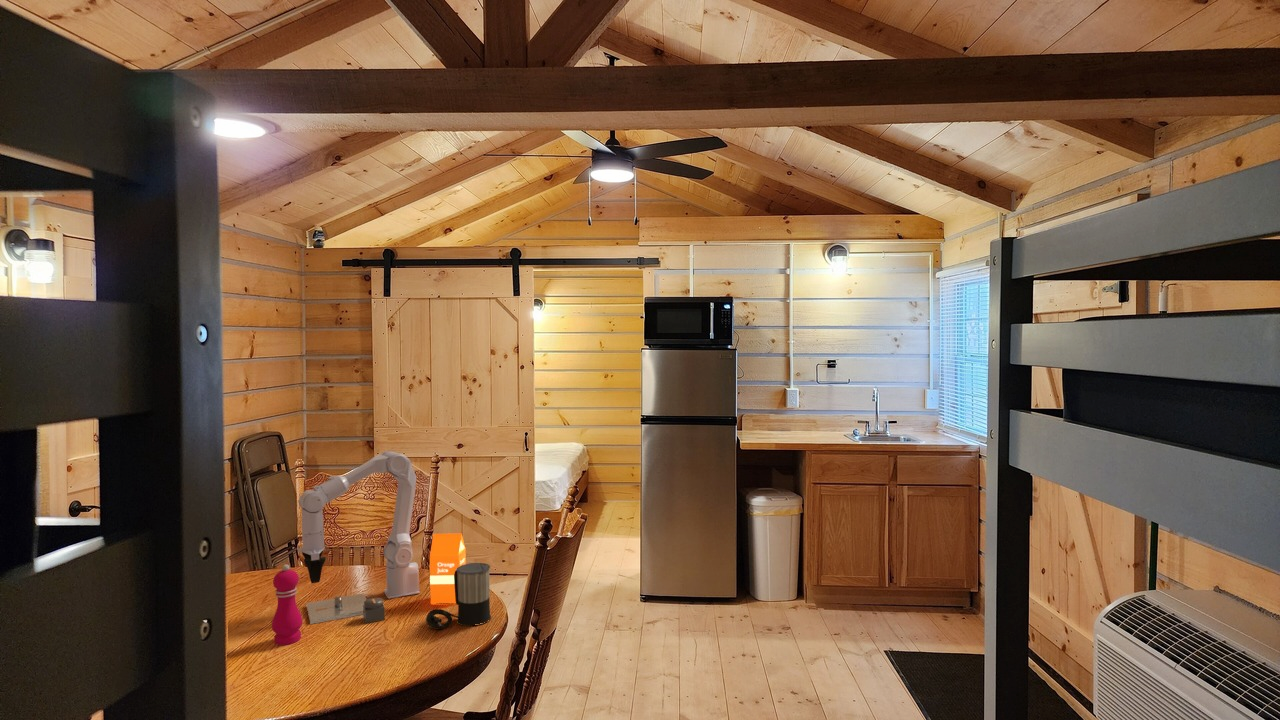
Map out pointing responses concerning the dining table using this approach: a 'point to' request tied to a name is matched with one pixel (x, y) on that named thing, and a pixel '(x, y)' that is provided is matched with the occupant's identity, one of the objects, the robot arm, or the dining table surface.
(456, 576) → the milk frother
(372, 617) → the knob
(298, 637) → the pepper mill
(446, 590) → the orange juice
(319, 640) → the dining table surface
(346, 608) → the flat square panel
